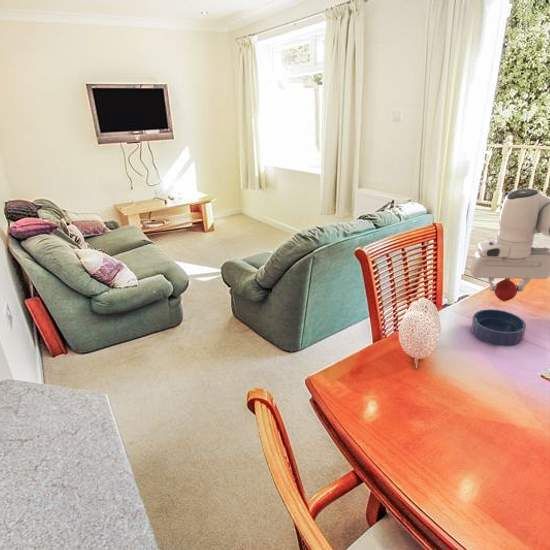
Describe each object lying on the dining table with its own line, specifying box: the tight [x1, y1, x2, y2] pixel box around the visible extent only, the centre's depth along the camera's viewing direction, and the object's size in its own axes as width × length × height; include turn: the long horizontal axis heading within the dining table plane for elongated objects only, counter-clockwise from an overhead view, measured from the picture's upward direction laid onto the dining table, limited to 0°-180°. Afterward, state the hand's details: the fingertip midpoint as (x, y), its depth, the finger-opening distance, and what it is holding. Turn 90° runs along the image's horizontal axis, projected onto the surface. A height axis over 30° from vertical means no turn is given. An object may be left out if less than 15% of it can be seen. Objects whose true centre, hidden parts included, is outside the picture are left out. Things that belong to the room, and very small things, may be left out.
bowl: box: [470, 308, 527, 347], centre depth 117 cm, size 14×14×5 cm
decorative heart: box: [398, 298, 441, 369], centre depth 107 cm, size 18×11×17 cm, turn 150°
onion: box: [493, 278, 518, 302], centre depth 112 cm, size 6×6×8 cm
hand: (505, 290), depth 112 cm, fingers closed on onion, 6 cm apart
